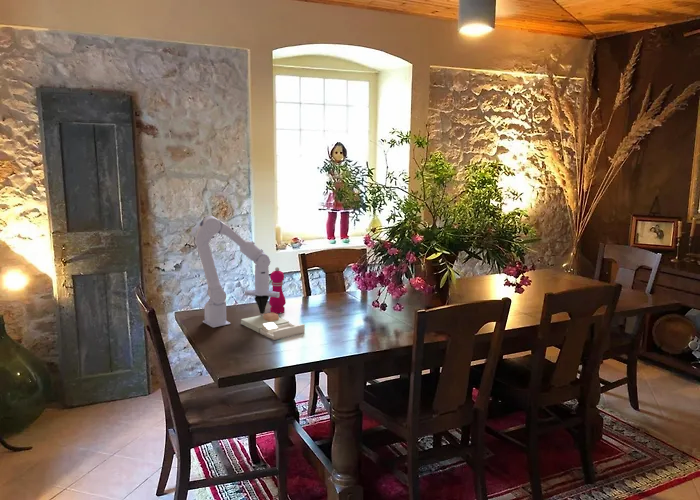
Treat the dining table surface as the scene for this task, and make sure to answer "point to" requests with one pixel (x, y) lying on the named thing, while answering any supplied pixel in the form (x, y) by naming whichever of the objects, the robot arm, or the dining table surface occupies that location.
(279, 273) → the pepper mill
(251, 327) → the board
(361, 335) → the dining table surface
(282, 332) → the tray
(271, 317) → the tile terracotta
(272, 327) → the tile cream
